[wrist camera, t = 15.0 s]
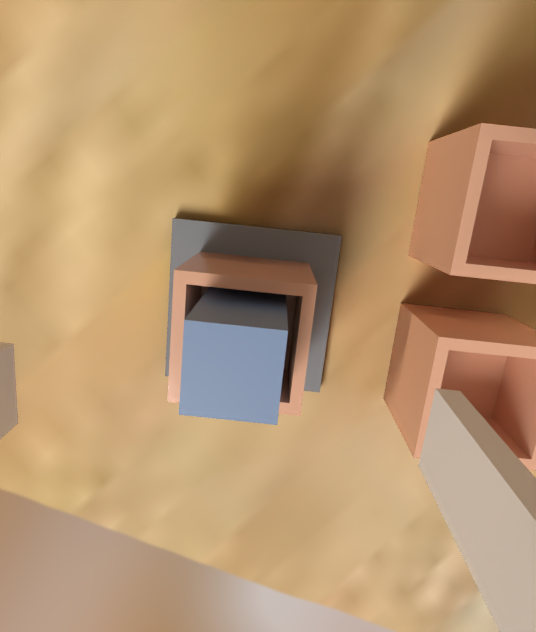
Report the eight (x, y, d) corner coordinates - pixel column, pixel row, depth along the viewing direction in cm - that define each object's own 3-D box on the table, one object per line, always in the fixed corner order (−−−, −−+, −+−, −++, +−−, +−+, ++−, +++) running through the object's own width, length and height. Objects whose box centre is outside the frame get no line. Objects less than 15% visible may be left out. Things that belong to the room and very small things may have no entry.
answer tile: (167, 372, 30) (165, 376, 29) (174, 217, 27) (172, 218, 27) (318, 388, 30) (319, 392, 29) (340, 235, 27) (341, 236, 27)
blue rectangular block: (208, 349, 26) (178, 414, 18) (213, 281, 25) (184, 319, 17) (278, 357, 26) (277, 424, 18) (285, 289, 25) (288, 330, 17)
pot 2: (408, 255, 28) (449, 275, 21) (429, 141, 26) (481, 122, 19) (515, 266, 28) (591, 289, 21) (542, 153, 26) (635, 139, 19)
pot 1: (193, 353, 29) (167, 401, 22) (200, 251, 27) (173, 269, 21) (295, 364, 29) (300, 415, 22) (308, 262, 27) (317, 285, 21)
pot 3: (383, 398, 30) (413, 457, 23) (401, 303, 28) (438, 336, 22) (481, 408, 30) (540, 471, 23) (504, 314, 28) (575, 351, 22)
